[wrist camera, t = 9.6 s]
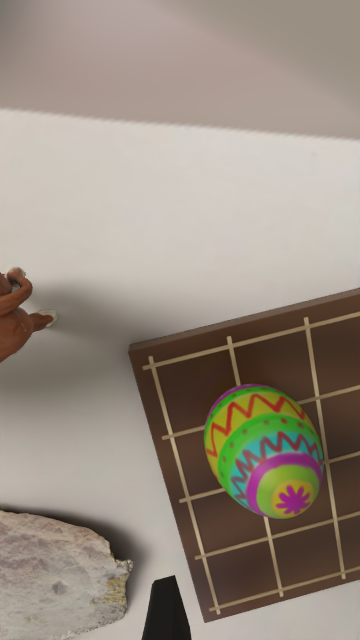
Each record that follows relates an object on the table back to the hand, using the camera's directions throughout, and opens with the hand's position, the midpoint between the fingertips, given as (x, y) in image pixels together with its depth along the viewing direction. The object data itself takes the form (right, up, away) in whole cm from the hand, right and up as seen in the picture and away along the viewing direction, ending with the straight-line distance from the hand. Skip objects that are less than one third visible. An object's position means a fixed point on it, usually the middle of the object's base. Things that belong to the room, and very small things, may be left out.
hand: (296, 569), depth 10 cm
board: (+5, 0, +10) cm, 11 cm away
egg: (0, +2, +8) cm, 8 cm away
